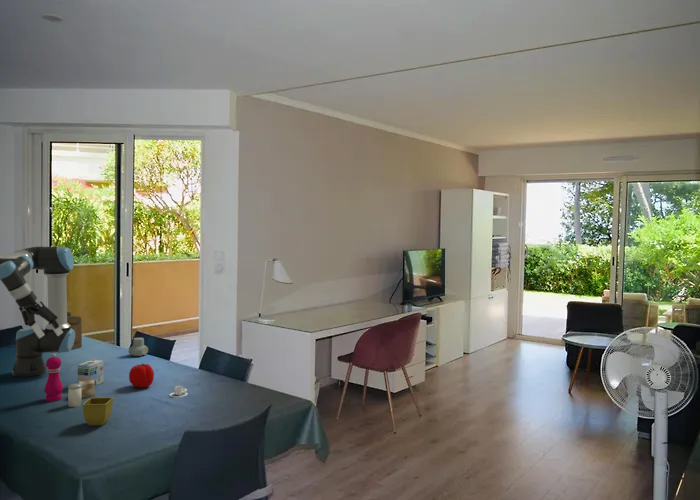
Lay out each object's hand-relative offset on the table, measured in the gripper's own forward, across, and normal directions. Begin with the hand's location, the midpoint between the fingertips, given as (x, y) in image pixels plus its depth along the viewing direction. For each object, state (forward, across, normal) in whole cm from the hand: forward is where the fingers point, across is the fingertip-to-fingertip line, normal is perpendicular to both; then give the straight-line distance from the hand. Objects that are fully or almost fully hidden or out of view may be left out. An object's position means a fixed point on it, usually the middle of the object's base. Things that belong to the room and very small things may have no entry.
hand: (51, 335), depth 245 cm
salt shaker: (+26, +12, -15) cm, 33 cm away
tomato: (+42, +14, +14) cm, 47 cm away
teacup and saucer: (+48, +39, +14) cm, 64 cm away
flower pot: (+27, +39, -26) cm, 54 cm away
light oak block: (+30, +5, -5) cm, 31 cm away
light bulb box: (+34, -8, +7) cm, 35 cm away
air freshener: (+53, -38, +56) cm, 86 cm away
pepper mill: (+24, -2, -14) cm, 28 cm away
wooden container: (+40, -89, +52) cm, 111 cm away
